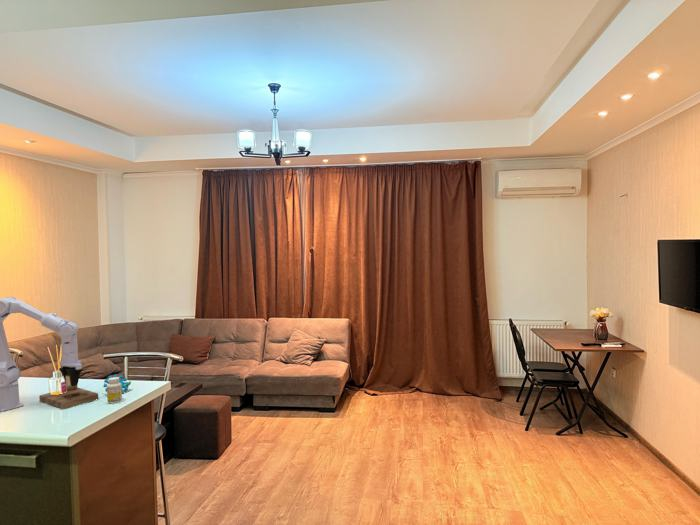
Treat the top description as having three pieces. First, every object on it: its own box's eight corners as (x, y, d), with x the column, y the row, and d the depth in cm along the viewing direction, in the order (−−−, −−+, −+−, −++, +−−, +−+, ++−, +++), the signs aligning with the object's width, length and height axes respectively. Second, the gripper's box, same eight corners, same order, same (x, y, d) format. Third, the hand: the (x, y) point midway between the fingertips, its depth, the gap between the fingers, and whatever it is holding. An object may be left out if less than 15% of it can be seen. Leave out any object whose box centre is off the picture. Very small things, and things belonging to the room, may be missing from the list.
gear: (104, 394, 200) (103, 374, 206) (101, 402, 203) (100, 381, 209) (133, 392, 207) (130, 372, 213) (129, 399, 210) (127, 380, 216)
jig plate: (39, 401, 199) (39, 395, 199) (74, 392, 210) (74, 386, 210) (62, 409, 187) (62, 403, 187) (98, 399, 199) (98, 393, 199)
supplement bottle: (118, 403, 193) (117, 380, 192) (104, 404, 193) (103, 380, 192) (124, 399, 198) (123, 376, 198) (111, 399, 198) (110, 376, 198)
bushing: (64, 390, 196) (63, 375, 196) (74, 387, 200) (73, 373, 200) (69, 391, 194) (68, 376, 194) (79, 388, 197) (78, 374, 197)
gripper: (88, 351, 195) (90, 384, 196) (71, 348, 204) (73, 379, 204) (70, 355, 190) (72, 389, 190) (53, 351, 198) (55, 384, 198)
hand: (71, 384), depth 197 cm, fingers closed on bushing, 4 cm apart
